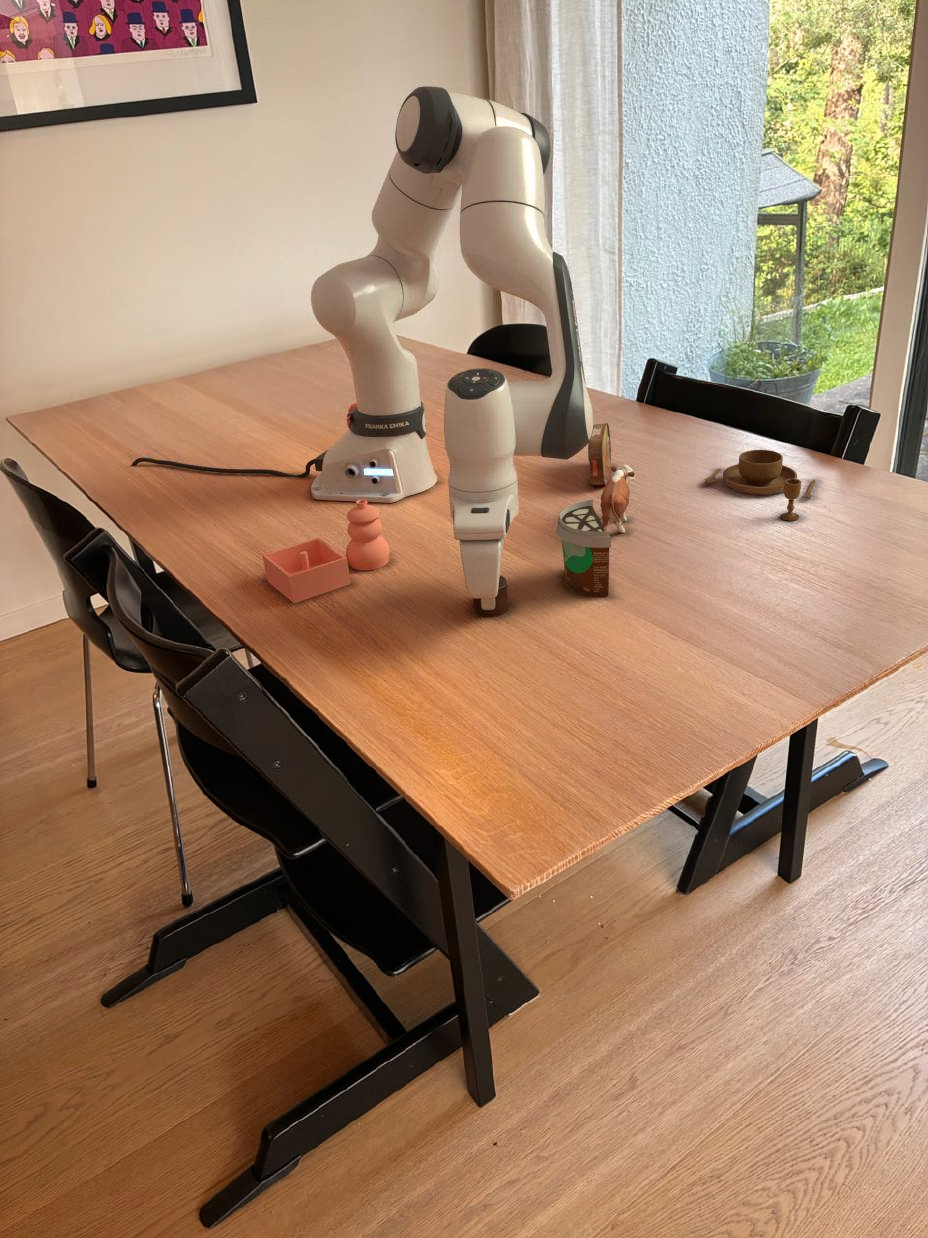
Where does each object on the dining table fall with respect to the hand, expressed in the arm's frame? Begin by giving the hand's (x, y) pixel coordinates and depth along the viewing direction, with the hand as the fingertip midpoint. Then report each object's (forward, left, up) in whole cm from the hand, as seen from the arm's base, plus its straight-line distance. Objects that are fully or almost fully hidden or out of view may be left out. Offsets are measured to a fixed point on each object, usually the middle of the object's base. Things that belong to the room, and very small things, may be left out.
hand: (490, 596), depth 134 cm
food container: (+12, +7, -2) cm, 14 cm away
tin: (+16, +48, -2) cm, 51 cm away
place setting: (+41, +38, -2) cm, 56 cm away
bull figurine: (+18, +27, -2) cm, 33 cm away
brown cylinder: (0, 0, -2) cm, 2 cm away
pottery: (-24, +12, -2) cm, 27 cm away
